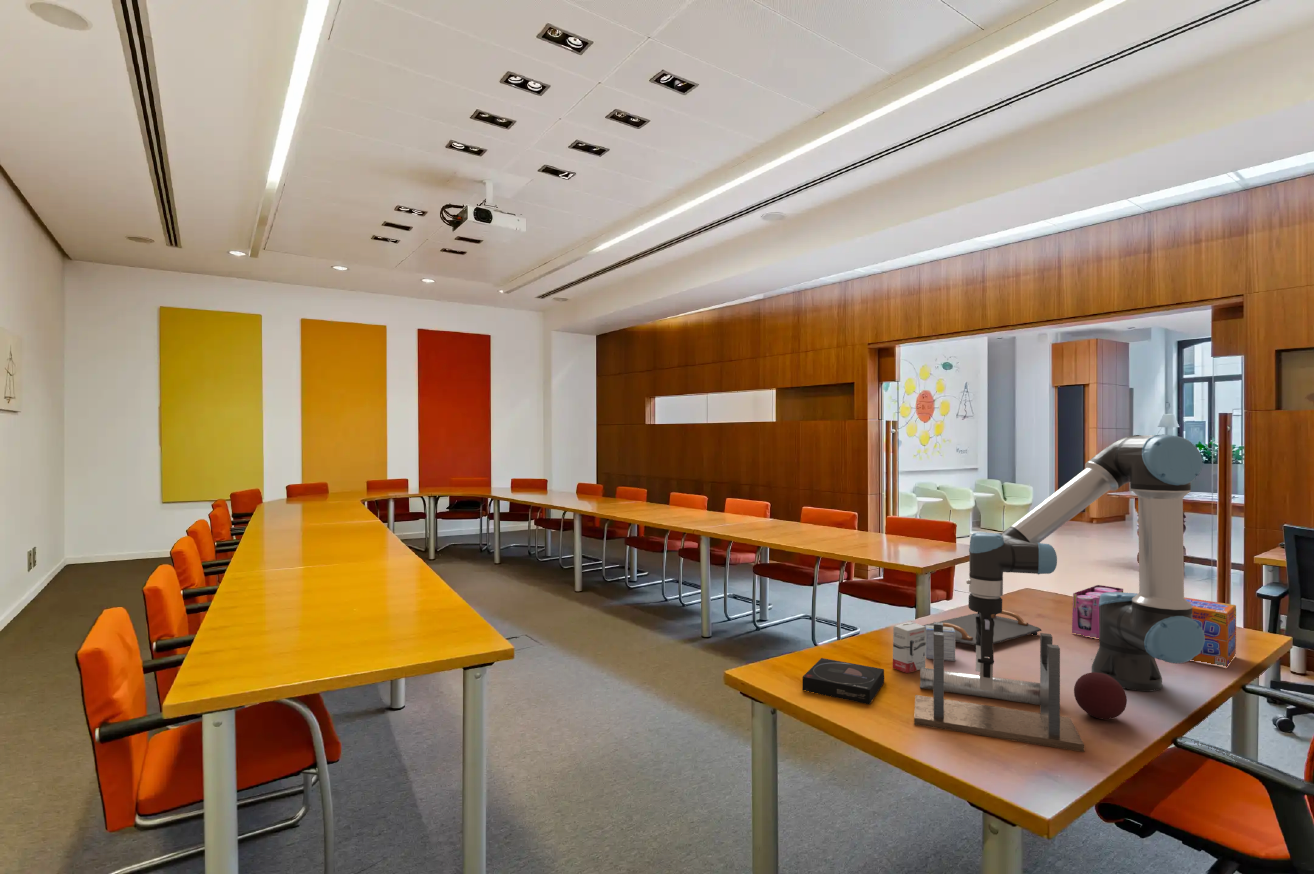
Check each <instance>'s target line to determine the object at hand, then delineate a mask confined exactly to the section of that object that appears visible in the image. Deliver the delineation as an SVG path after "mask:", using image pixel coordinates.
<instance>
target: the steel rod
mask: <svg viewBox="0 0 1314 874" xmlns="http://www.w3.org/2000/svg"><path fill="white" fill-rule="evenodd" d="M919 673H920V674H919V677H920V678H919V679H920V682H919V688H920V689H925V690H933V673H934V668H927V667H925V668H921V667H920V670H919ZM945 692H946V693H953V694H959V695H967V696H973V697H974V696H975V697H980V698H981V697H982V698H988V699H995V700H1003V701H1010V702H1014V703H1015V702H1016V703H1023V704H1030V705H1031V704H1032V705H1036V706H1037V705H1038V706H1040V682H1035V681H1025V680H1020V679H1011V678H1003V677H997V676H993V687H992V691H987V690H981V689H980V674H973V673H966V672H960V671H959V672H957V671H951V670H944V693H945Z"/></svg>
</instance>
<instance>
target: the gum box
mask: <svg viewBox="0 0 1314 874" xmlns="http://www.w3.org/2000/svg"><path fill="white" fill-rule="evenodd" d="M1106 592H1123V593H1124V588H1120V587H1116V586H1110V585H1109V586H1107V585H1102V584H1097V585H1093V586H1091V587H1088V588H1085V589H1082V590H1079V591H1076V592H1073V593H1072V612H1071V613H1072V616H1071V617H1072V620H1071V634H1072V633H1076V634H1081V635H1084V636H1090V637H1096V638H1099V607H1098V605H1099V600H1100V595H1101V594H1102V593H1106Z"/></svg>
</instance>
